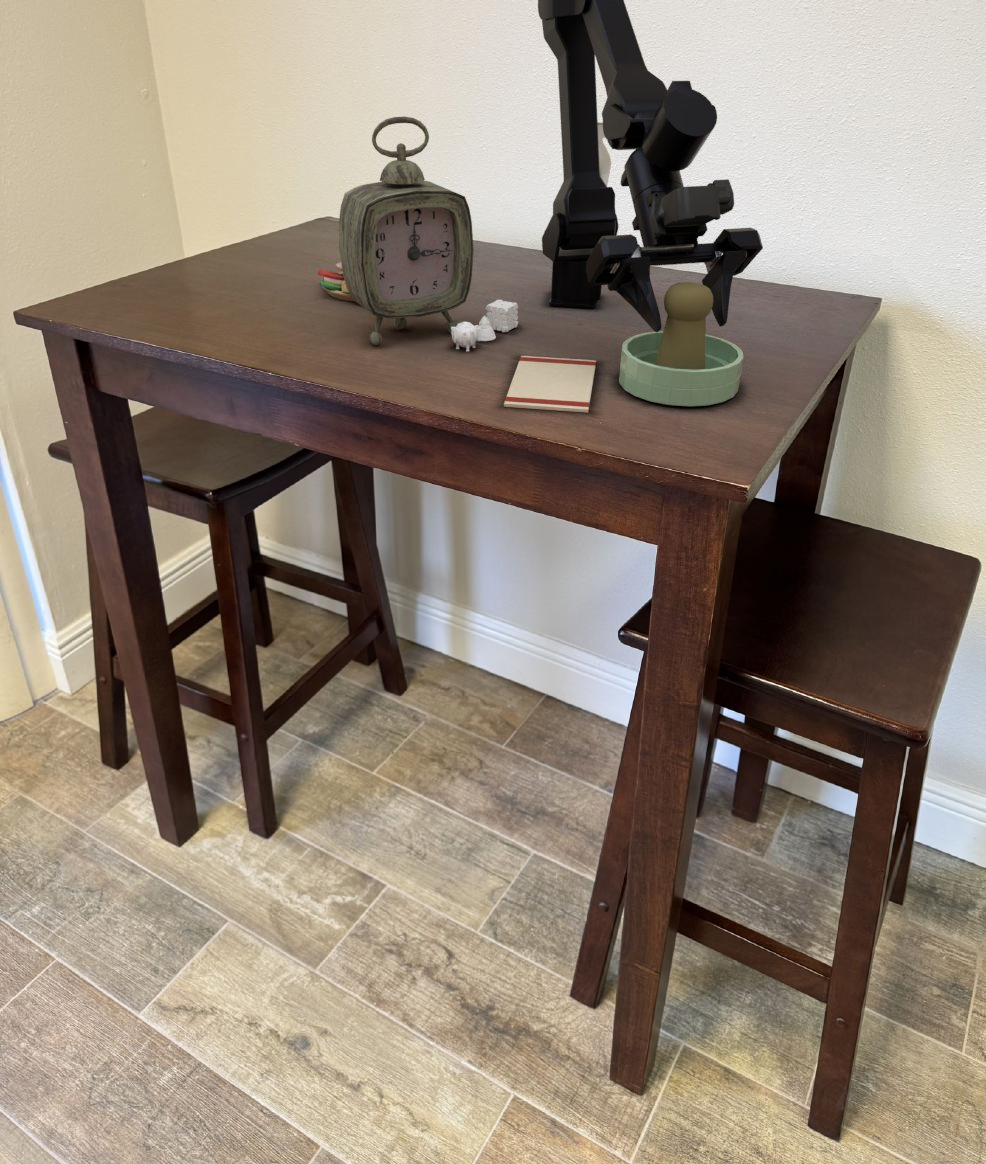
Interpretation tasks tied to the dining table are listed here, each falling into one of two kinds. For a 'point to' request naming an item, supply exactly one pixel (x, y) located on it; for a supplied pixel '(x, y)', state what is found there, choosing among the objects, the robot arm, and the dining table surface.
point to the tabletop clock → (405, 241)
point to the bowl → (680, 373)
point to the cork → (685, 326)
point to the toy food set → (335, 283)
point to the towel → (552, 384)
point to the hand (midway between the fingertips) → (691, 327)
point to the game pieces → (487, 324)
